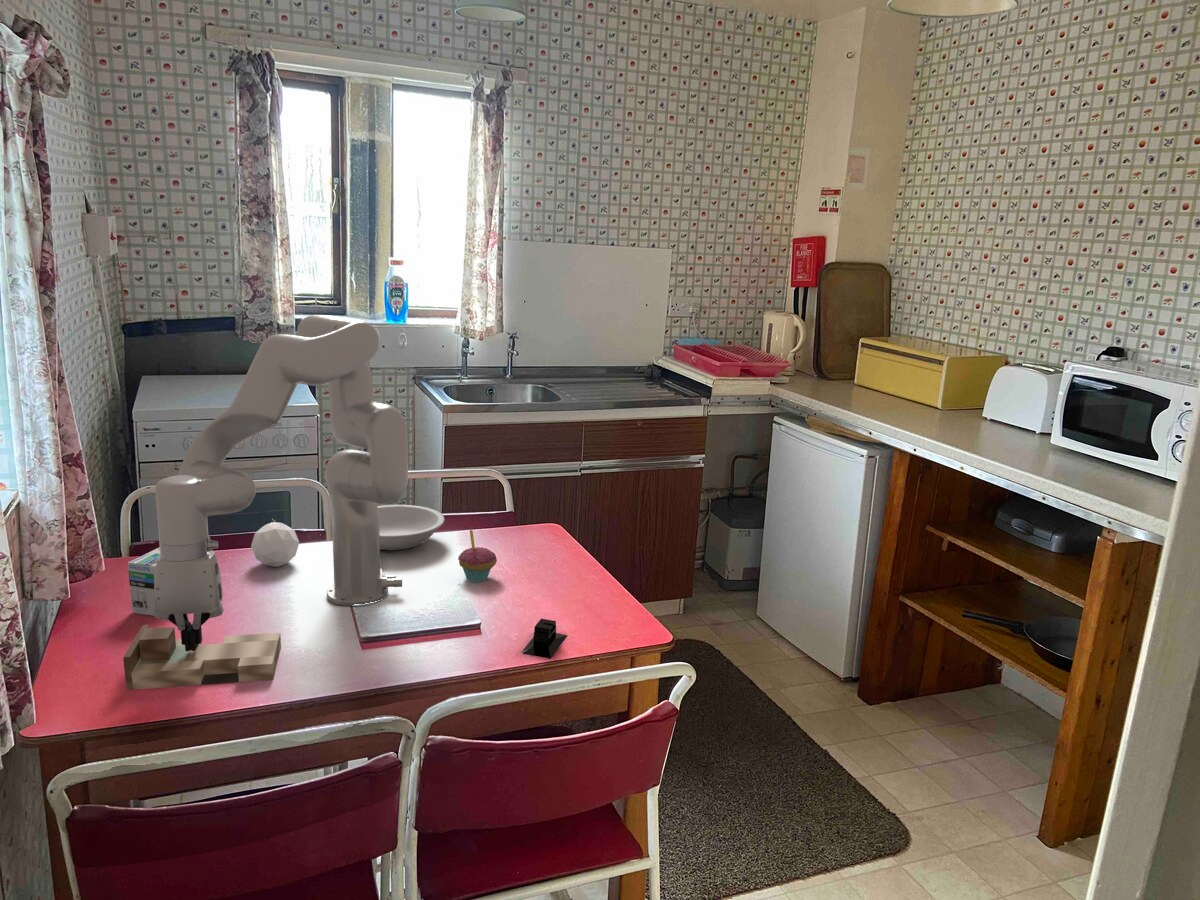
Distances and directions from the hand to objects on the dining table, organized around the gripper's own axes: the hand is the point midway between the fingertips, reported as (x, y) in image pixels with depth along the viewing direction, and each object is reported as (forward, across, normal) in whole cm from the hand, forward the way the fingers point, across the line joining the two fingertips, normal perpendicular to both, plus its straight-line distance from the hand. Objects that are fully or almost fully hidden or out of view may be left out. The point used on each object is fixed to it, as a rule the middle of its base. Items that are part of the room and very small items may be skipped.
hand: (192, 647), depth 151 cm
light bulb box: (+4, +12, -28) cm, 31 cm away
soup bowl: (+4, -34, -59) cm, 68 cm away
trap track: (+4, -2, 0) cm, 5 cm away
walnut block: (+1, +6, 0) cm, 6 cm away
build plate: (+5, -62, -1) cm, 62 cm away
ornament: (+4, -7, -51) cm, 51 cm away
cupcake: (+4, -52, -35) cm, 63 cm away
